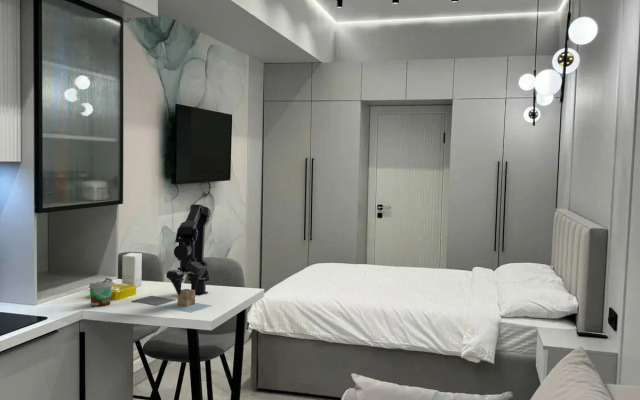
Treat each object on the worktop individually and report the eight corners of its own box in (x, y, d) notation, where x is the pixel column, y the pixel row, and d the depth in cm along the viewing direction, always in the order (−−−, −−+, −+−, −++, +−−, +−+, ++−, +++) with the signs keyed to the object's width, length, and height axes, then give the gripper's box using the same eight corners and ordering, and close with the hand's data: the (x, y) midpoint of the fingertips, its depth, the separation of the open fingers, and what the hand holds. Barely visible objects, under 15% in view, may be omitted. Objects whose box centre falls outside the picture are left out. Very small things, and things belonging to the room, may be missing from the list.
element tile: (138, 294, 264) (138, 284, 264) (117, 301, 250) (117, 290, 250) (110, 291, 269) (110, 281, 269) (87, 298, 255) (87, 287, 254)
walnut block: (185, 302, 249) (185, 288, 248) (194, 304, 246) (195, 290, 246) (177, 305, 244) (177, 290, 244) (186, 306, 242) (187, 292, 242)
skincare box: (129, 284, 283) (129, 252, 282) (142, 285, 282) (142, 253, 281) (121, 288, 275) (121, 255, 274) (134, 288, 274) (135, 255, 273)
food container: (102, 308, 236) (102, 284, 235) (88, 307, 237) (89, 283, 236) (119, 302, 248) (119, 278, 247) (105, 301, 249) (106, 277, 248)
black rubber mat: (151, 296, 260) (151, 295, 259) (176, 300, 253) (176, 299, 253) (131, 301, 249) (131, 300, 249) (156, 306, 242) (156, 305, 242)
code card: (183, 301, 253) (183, 300, 252) (212, 306, 245) (212, 305, 245) (160, 307, 240) (160, 307, 240) (190, 313, 233) (190, 312, 233)
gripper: (187, 260, 232) (186, 299, 233) (216, 254, 249) (215, 290, 250) (165, 257, 237) (165, 295, 238) (195, 252, 254) (195, 287, 255)
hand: (186, 292), depth 245 cm, fingers open, 9 cm apart
